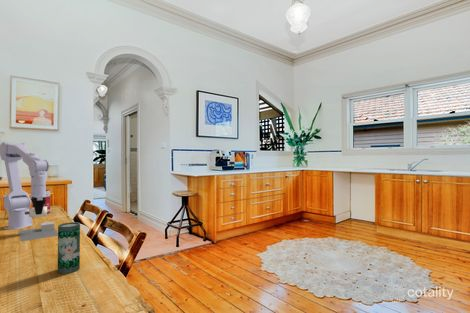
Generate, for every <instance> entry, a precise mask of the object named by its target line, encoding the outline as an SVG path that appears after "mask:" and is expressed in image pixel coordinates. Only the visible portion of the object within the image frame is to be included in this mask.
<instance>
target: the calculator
mask: <svg viewBox="0 0 470 313" xmlns="http://www.w3.org/2000/svg"><path fill="white" fill-rule="evenodd" d="M46 194H49V195H46V196H44V197H45V199H46V202H45V204H44V206H43V207H47V210H51V190H50V189H46ZM31 198H35V197H31ZM33 207H34V206H33V205H32V208H33ZM50 213H51V211H50V212H47V215H48V214H50Z"/></svg>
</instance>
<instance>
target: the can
mask: <svg viewBox="0 0 470 313" xmlns="http://www.w3.org/2000/svg"><path fill="white" fill-rule="evenodd" d="M57 233H58V236H57V273H58V274H59V275H68V274H72V273H75V272H78V270H81V269H80V267H81V264H80V262H81V259H80V258H81V223H80V222H74V221H73V222H65V223H60V224H58V225H57ZM61 273H62V274H61Z"/></svg>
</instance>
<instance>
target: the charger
mask: <svg viewBox="0 0 470 313" xmlns="http://www.w3.org/2000/svg"><path fill="white" fill-rule="evenodd" d="M40 228H41V231H48V230H54V228H55V222H54V221H47V222H41V223H40Z"/></svg>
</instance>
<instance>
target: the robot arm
mask: <svg viewBox="0 0 470 313" xmlns="http://www.w3.org/2000/svg"><path fill="white" fill-rule="evenodd" d="M0 159H1V161H4V164H5V171H6V177H7V182H8V188H9V192H8V194H6V195H5V196H4V197H3V208H4V210H6V212H8V214H7V215H8V223H7V224H8V226H7V227H3V229H4V230H21V229H25V228H27V227H29V226H33V225H34V224H33V223H32V222H33V220H32V218H33V217H29V214H27V215H25V212H27V211H29V208H31V205H32V207H33V206H34V208H35V213H36V215H38V214H42V210H43V206H44V204H45V202H46V199H45V197H44V196H46V195H49V194H46V190H47V186H46V185H47V183H46V182H47V179H46V178H47V172H48V171H49V168H50V166H49V162H48V161H47V159H41V158H40V157H39V156H37V155H36V153H35V152H30V151H29V150H28V147H27V144H26V143H25V142H5V141H2V142H1V143H0ZM20 160H22V161H23V163H25V164H26V165H27V167H28V171H29V176H30V195H29V193H28V192H27V191H25V190H23V188H22V187H23V186H22V182H21V176H20V172H19V165H18V162H19V161H20ZM32 197H35V198H32Z"/></svg>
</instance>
